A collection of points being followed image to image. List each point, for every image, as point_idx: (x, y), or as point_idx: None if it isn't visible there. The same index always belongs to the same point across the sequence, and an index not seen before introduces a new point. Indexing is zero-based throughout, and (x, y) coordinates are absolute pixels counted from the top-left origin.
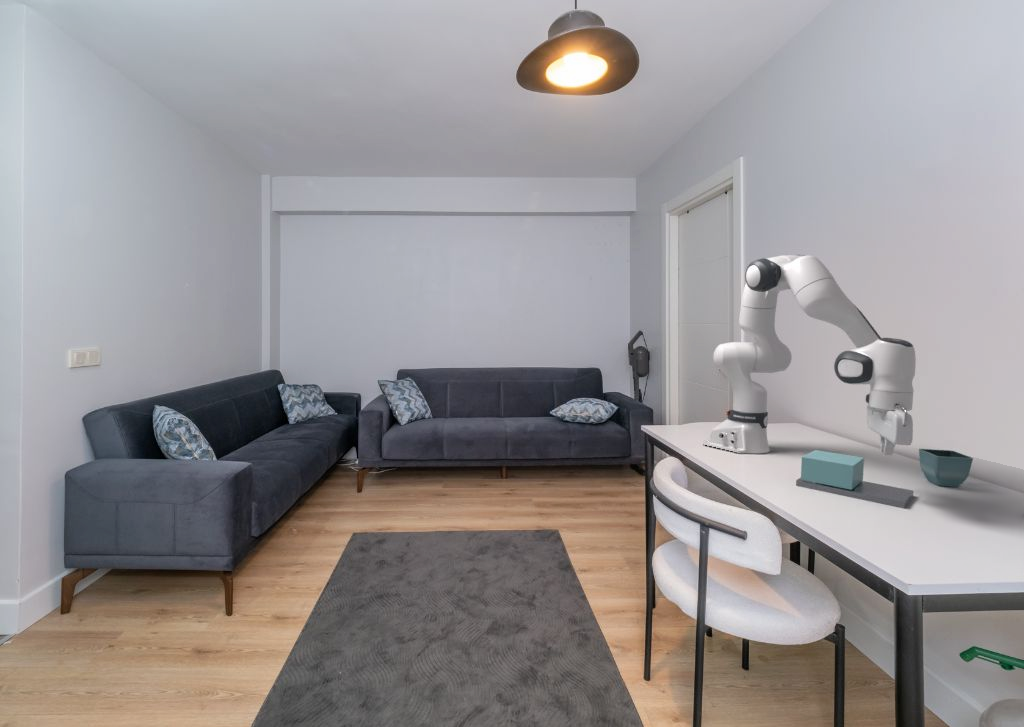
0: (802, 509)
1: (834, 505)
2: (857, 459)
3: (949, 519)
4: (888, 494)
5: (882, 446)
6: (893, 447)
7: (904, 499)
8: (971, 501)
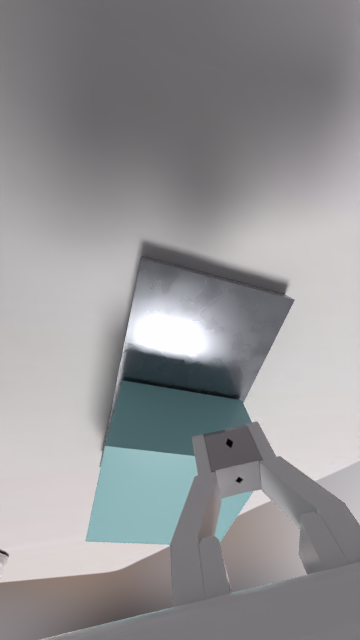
0: (354, 444)
1: (314, 410)
2: (157, 459)
3: (347, 196)
4: (231, 329)
5: (231, 495)
6: (294, 468)
7: (265, 297)
8: (75, 36)
